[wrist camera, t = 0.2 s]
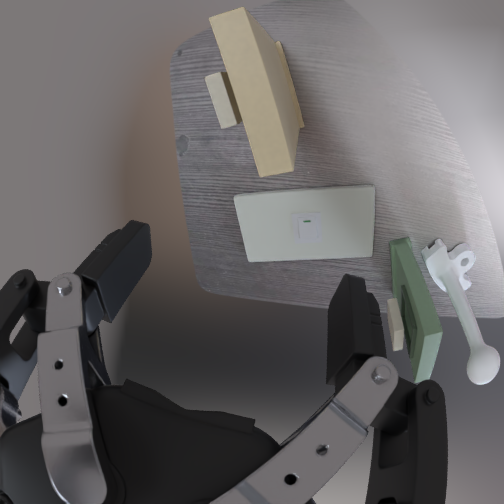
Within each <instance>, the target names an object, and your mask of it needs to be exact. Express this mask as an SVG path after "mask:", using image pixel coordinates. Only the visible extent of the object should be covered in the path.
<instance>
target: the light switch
mask: <svg viewBox="0 0 504 504" xmlns="http://www.w3.org/2000/svg"><path fill="white" fill-rule="evenodd" d="M234 203H235V207H236V211H237V216H238V220H239V224H240V228H241V232H242V237H243V241H244V245H245V249H246V253H247V257H248V261H249V262H262V261H287V260H312V259H334V258H356V257H371V256H372V252H373V238H374V220H375V188H374V186H373V185H354V186H332V187H315V188H300V189H287V190H275V191H264V192H254V193H244V194H236V195H235V196H234Z"/></svg>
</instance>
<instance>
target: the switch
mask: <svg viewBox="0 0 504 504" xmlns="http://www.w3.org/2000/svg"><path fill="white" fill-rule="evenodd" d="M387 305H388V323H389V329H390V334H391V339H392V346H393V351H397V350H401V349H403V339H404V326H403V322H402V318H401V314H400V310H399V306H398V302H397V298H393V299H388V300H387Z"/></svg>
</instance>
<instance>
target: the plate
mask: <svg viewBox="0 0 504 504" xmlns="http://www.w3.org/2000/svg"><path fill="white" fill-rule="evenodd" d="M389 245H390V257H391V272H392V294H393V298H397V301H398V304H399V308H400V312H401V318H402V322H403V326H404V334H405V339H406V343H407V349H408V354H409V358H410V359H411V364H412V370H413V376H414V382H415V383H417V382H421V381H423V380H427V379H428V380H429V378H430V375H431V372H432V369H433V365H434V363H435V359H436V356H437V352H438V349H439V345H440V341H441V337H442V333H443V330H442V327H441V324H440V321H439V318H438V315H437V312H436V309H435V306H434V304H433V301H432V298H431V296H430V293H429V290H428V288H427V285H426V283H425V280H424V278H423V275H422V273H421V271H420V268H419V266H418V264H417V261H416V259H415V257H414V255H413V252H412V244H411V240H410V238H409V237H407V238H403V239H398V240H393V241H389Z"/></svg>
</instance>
